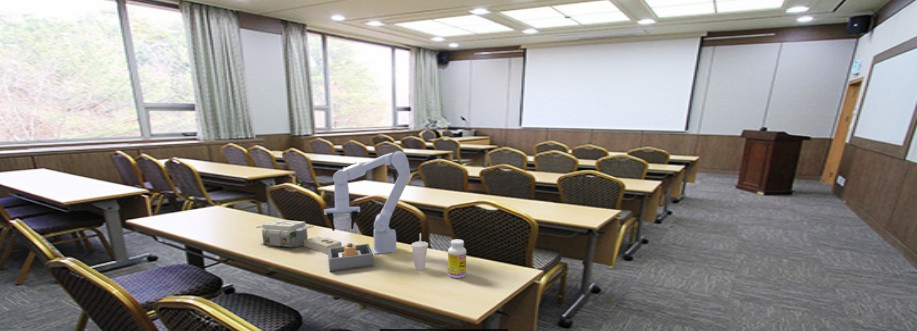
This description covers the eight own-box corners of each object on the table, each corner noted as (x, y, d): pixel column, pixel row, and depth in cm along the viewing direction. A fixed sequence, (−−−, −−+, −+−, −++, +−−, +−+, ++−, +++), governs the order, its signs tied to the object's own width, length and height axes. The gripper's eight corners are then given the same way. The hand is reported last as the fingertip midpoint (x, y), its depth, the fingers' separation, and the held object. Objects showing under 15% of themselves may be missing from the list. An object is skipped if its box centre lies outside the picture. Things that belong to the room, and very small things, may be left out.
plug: (356, 261, 149) (355, 244, 148) (345, 263, 147) (345, 246, 146) (354, 258, 152) (353, 241, 151) (344, 260, 150) (343, 243, 150)
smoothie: (415, 272, 140) (414, 236, 139) (409, 266, 146) (408, 231, 144) (431, 269, 143) (430, 233, 142) (424, 264, 149) (424, 229, 147)
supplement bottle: (459, 280, 134) (460, 245, 132) (444, 276, 137) (444, 242, 136) (469, 274, 140) (469, 240, 138) (454, 270, 143) (454, 237, 142)
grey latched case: (298, 251, 161) (296, 228, 160) (253, 245, 173) (250, 224, 172) (318, 243, 172) (316, 221, 171) (275, 238, 184) (273, 218, 183)
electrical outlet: (317, 234, 175) (341, 241, 164) (318, 242, 175) (342, 250, 165) (303, 238, 169) (327, 246, 159) (303, 246, 170) (327, 255, 159)
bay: (368, 255, 158) (368, 243, 158) (373, 266, 146) (373, 254, 146) (328, 260, 152) (327, 248, 152) (329, 272, 140) (329, 259, 140)
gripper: (358, 195, 166) (359, 225, 167) (323, 197, 161) (324, 228, 162) (360, 198, 159) (361, 229, 161) (323, 200, 154) (325, 233, 156)
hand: (342, 229), depth 161 cm, fingers open, 7 cm apart
